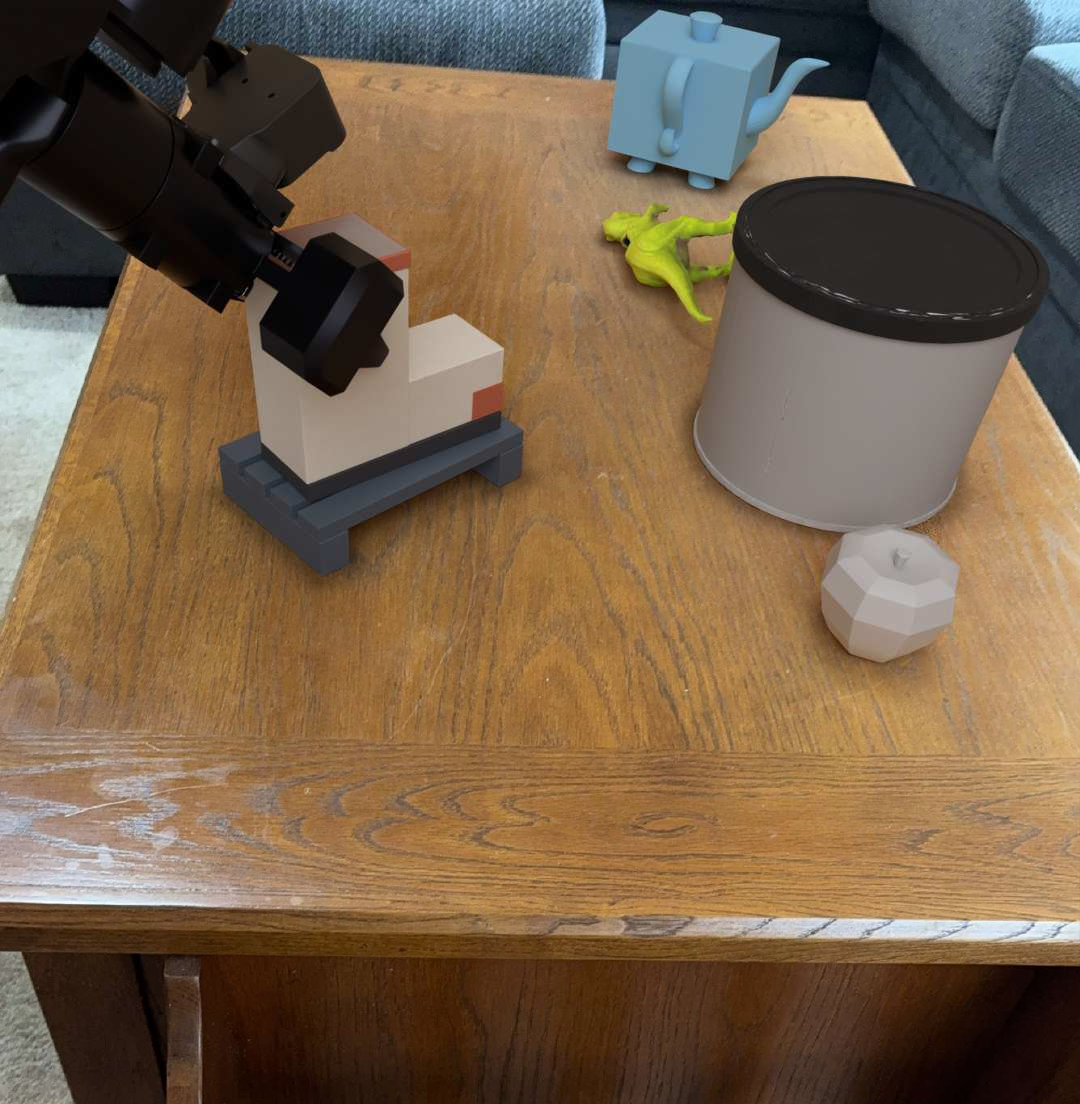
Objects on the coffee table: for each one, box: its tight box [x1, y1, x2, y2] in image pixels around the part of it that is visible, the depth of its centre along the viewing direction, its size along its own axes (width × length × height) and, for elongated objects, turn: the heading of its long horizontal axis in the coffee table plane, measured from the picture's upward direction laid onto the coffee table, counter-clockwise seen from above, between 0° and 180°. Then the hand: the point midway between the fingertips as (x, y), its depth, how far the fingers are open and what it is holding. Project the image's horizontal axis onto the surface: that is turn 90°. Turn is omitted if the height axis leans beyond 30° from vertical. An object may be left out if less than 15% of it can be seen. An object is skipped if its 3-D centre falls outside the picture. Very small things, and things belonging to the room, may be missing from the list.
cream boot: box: [244, 211, 505, 503], centre depth 63 cm, size 14×5×13 cm, turn 130°
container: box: [692, 175, 1051, 534], centre depth 72 cm, size 19×19×15 cm
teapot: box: [606, 9, 831, 190], centre depth 104 cm, size 18×16×13 cm
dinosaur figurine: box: [601, 202, 738, 324], centre depth 91 cm, size 20×10×6 cm, turn 29°
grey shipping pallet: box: [217, 415, 525, 577], centre depth 69 cm, size 16×10×4 cm, turn 135°
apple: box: [820, 524, 961, 664], centre depth 62 cm, size 8×8×7 cm
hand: (342, 331), depth 61 cm, fingers open, 7 cm apart
